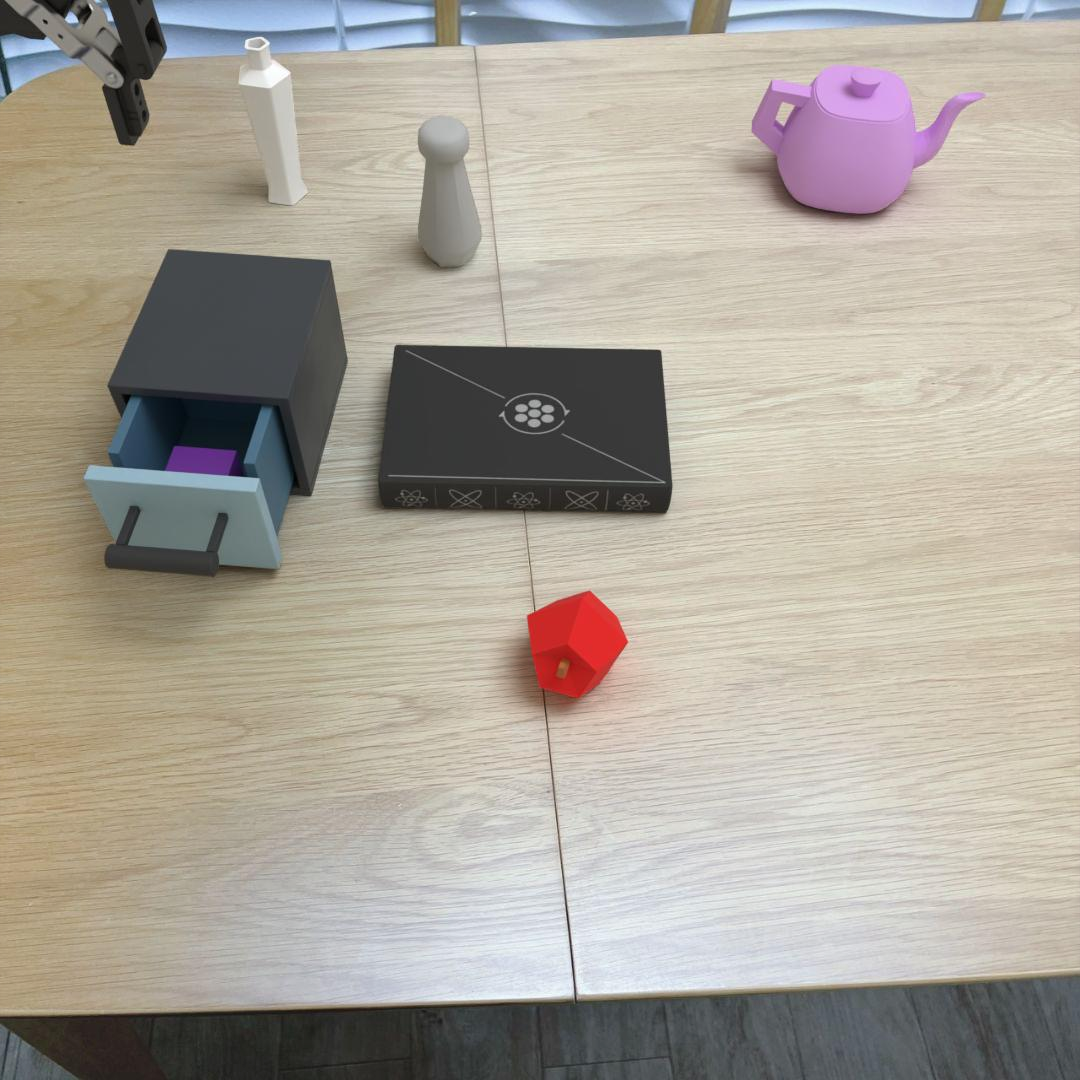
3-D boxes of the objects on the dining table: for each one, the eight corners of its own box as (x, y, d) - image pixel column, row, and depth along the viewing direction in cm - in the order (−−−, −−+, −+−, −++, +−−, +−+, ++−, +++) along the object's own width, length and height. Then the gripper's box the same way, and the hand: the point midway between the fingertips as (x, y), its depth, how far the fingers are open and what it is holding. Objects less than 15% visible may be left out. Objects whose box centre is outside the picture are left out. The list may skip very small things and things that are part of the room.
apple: (556, 550, 74) (523, 616, 67) (648, 591, 73) (624, 662, 67) (525, 623, 78) (491, 693, 71) (613, 663, 77) (586, 737, 71)
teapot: (950, 236, 103) (992, 130, 94) (737, 208, 105) (758, 102, 96) (946, 153, 110) (983, 48, 102) (748, 129, 112) (768, 24, 103)
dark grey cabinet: (311, 496, 83) (288, 398, 74) (148, 483, 83) (106, 385, 75) (348, 361, 92) (330, 259, 83) (200, 350, 92) (167, 248, 84)
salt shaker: (495, 248, 101) (492, 121, 90) (457, 282, 98) (450, 155, 87) (444, 225, 102) (436, 97, 92) (406, 257, 100) (393, 130, 89)
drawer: (263, 626, 75) (236, 551, 68) (100, 613, 75) (56, 537, 68) (318, 429, 86) (300, 346, 79) (175, 418, 86) (144, 335, 79)
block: (171, 534, 78) (154, 494, 75) (189, 485, 81) (173, 445, 77) (233, 539, 78) (219, 499, 74) (249, 490, 81) (236, 450, 77)
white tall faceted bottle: (252, 192, 105) (217, 42, 93) (290, 174, 107) (261, 24, 95) (279, 215, 103) (247, 64, 91) (317, 196, 105) (291, 46, 93)
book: (380, 511, 82) (376, 485, 80) (397, 370, 91) (394, 344, 89) (668, 516, 82) (673, 490, 80) (657, 375, 91) (661, 349, 89)
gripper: (126, -209, 51) (200, 105, 64) (-169, -233, 52) (-36, 83, 65) (69, -140, 47) (161, 182, 60) (-253, -167, 47) (-92, 158, 61)
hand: (59, 131), depth 62 cm, fingers open, 8 cm apart
